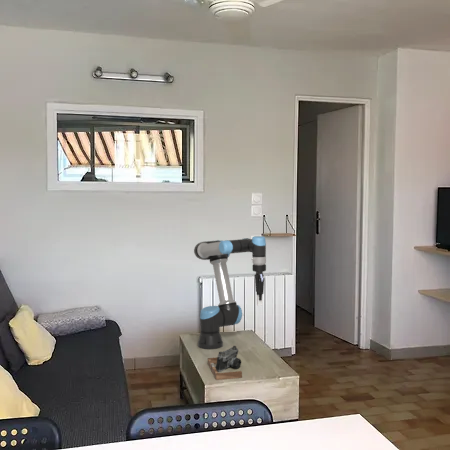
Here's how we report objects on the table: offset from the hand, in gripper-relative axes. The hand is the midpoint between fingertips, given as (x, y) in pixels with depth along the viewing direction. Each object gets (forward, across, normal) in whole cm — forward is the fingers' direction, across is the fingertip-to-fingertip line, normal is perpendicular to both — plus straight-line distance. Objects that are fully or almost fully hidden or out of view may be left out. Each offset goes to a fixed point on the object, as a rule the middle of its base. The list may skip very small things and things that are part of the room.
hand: (259, 305), depth 292 cm
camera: (+30, +14, -20) cm, 39 cm away
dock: (+29, +17, -24) cm, 41 cm away
